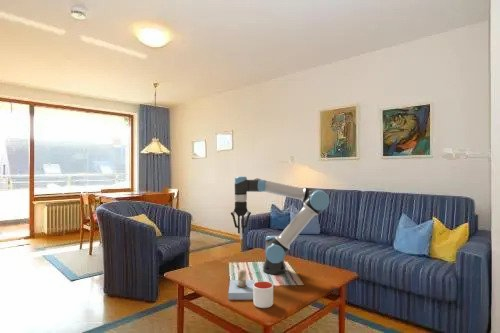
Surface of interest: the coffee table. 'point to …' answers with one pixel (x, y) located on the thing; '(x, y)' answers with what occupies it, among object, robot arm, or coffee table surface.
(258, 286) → the cup
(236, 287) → the board
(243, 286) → the peg
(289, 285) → the coffee table surface
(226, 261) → the coffee table surface
